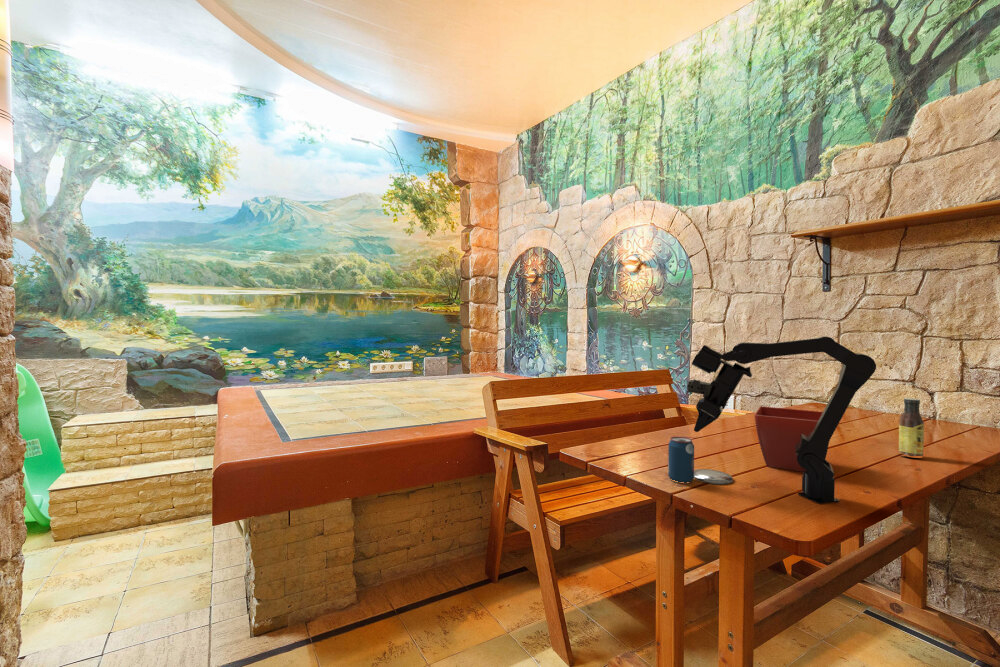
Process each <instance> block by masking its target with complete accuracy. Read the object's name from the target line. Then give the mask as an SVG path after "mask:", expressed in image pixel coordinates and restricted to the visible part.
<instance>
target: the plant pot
mask: <svg viewBox="0 0 1000 667" xmlns="http://www.w3.org/2000/svg"><path fill="white" fill-rule="evenodd" d="M822 413H823V411H818V410H817V411H815V410H808V409H807V410H806V409H796V408H785V407H773V406H772V407H771V406H759V407H758V409H757V410H756V412H755V413H754V421H755V422H754V423H755V428H756V434H757V438H758V443H759V446H760V450H761V453H762V456H763V460H764V463H765V465H766V466H767V467H769V468H771V467H772V468H776V469H781V470H782V469H783V470H790V471H797V472H802V473H803V471H806V470H805V469H804V468H802V467H801V466H800V465H799V464H798V461H797V456H796V451H795V445H797V444H798V443H799V441H800V437H801V434H803V435H805V436H806V437H807V436H808V435H809V434H810V433H812V431H813V430H814V428H815V426H816V424H817V422H818V421H819V419H820V417H821V415H822Z"/></svg>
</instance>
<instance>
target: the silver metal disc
mask: <svg viewBox="0 0 1000 667" xmlns="http://www.w3.org/2000/svg"><path fill="white" fill-rule="evenodd" d="M694 478H695V479H697V480H696V481H698V480H699V481H698V482H700V481H702V482H701V483H704V482H705V483H704V484H708V483H709V485H716V484H717V485H719V486H720V485H722V484H723V486H725V484H726V485H729V484H732V483H733V482H734V480H733V479H734V477H733V476H732V475H730V474H729V473H727V472H723V471H720V470H715V469H708V468H706V469H705V468H701V469H694ZM695 479H694V480H695ZM717 485H716V486H717Z"/></svg>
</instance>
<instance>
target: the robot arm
mask: <svg viewBox="0 0 1000 667" xmlns="http://www.w3.org/2000/svg"><path fill="white" fill-rule="evenodd" d="M814 353H825V354H826V355H827V356H829V357H831V358H832V359H835V360H836V361H838V362H839V363H841V368H840V371H839V377H838V382H837V384H836V387H835V389H834V391H833V392H832V395H831V397H830V399H829V400H828V402H827V403H826V405H825V407H824V409H823V411H822V412H823V413H822V415H821V417H820V419H819V421H818V422H817V424H816V426H815V428H814V430H813V431H812V433H810V434H809V435H808V436H807V437H806V436H805V435H803V434H801V437H800V441H799V443H798V444H797V445H795V451H796V456H797V461H798V464H799V465H800V466H801V467H802V468H804V469H805V470H806V471H803V472H802V476H801V491H799V492H797V495H798V496H800V497H803V498H805V499H807V500H809V501H812V502H814V503H816V504H819V505H821V504H823V505H824V504H831V503H840V499H838V498H836V497H835V488H836V487H835V485H836V481H835V479H836V478H835V477H834V476H835V473H834V472H835V471H834V470H833V467H832V465H831V463H830V462H828V460H827V459H826V458H827V454H828V450H829V444H830V440H831V438H832V436H833V435H834V433H835V431H836V429H837V427H838V426H839V424H840V422H841V420H842V419H843V417H844V415H845V413H846V411H847V409H848V407H849V405H850V403H851V402H852V400H853V398H854V396H855V395H856V393H857V391H859V389H861V388H862V387H863V386H864V385H865V384H866V383H867V382H868V381H869V379H870V378H871V377H872V376H873V374H874V373H875V372H876V370H877V363H876V361H875V360H874V359H873V358H872V357H871V356H869V355H866V354H864V353H860V352H854V351H852V350H850V349H848V348H847V347H845V346H843V345H842V344H840V343H839V342H837V341H835V340H834V338H832V337H830V336H827V335H826V336H824V335H823V336H820V337H814V338H807V339H806V338H805V339H797V340H788V341H780V342H771V343H767V342H766V343H764V342H745V341H744V342H740V343H737V344H736V345H734V346H733V348H732V350H730V351H728V352H727V351H725V352H723V353H720V352H718V351H717V350H714V349H712V348H711V347H710V346H708V345H706V344H704V345H702V347H701V349H700V350H699V351H698V352H697V354H695V356H694V358H693V360H692V362H691V365H692V366H693V367H696V368H697V369H699V370H701V371H703V372H704V373H706V374H709V375H711V373H712V374H713V373H714V374H716V373H717V372H718V371H719V372H718V373H717V375H716V377H715V378H714V379H713V380H712V381H711V382H706V381H701V380H700V379H699V380H697V379H690V380H688V383H687V385H686V386H687V389H686V392H688V393H691V394H692V393H695V394H698V395H699V394H700V395H702V397H703V398H700V399H699V400H698V401H697V403H696V405H695V409H696V410H697V412H698V414H697V418H696V422H695V425H694V428H693V431H694V432H695V433H699V432H701V430H703V429H704V428H706V427H707V426H709V425H710V424H712V423H713V422H715V421H716V420H717V419H719V417H720V416H721V414H722V413H723V410H725V407H726V406H727V404H728V402H729V399H730V398H731V397H732V395H733V394H734V392H735V390H736V389H737V387H738V385H739V384H740V382H741V381H742V379H743V377H744V376H747V377H748V378H752V376H753V373H752V371H751V369H752V368H751V366H747V367H745V366H743V365H745V364H746V365H747V364H750V363H754V362H759V361H761V360H765V359H770V358H773V357H784V356H795V355H804V354H814ZM730 362H735V363H734V364H731V363H730ZM742 364H743V365H742ZM721 365H722V367H721ZM720 367H721V369H720V370H719V368H720Z"/></svg>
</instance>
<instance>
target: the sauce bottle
mask: <svg viewBox="0 0 1000 667" xmlns="http://www.w3.org/2000/svg"><path fill="white" fill-rule="evenodd" d="M903 403H904V407H903V408H904V409H903V410H904V411H903V413H902V414H900V417H899V425H898V453H899V452H900V453H902V454H905V455H909V456H924V442H925V441H924V439H925V438H924V437H925V423H924V420H923V417H922V416H921V413H920V404H921V400H920V399H919V398H904V399H903Z"/></svg>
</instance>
